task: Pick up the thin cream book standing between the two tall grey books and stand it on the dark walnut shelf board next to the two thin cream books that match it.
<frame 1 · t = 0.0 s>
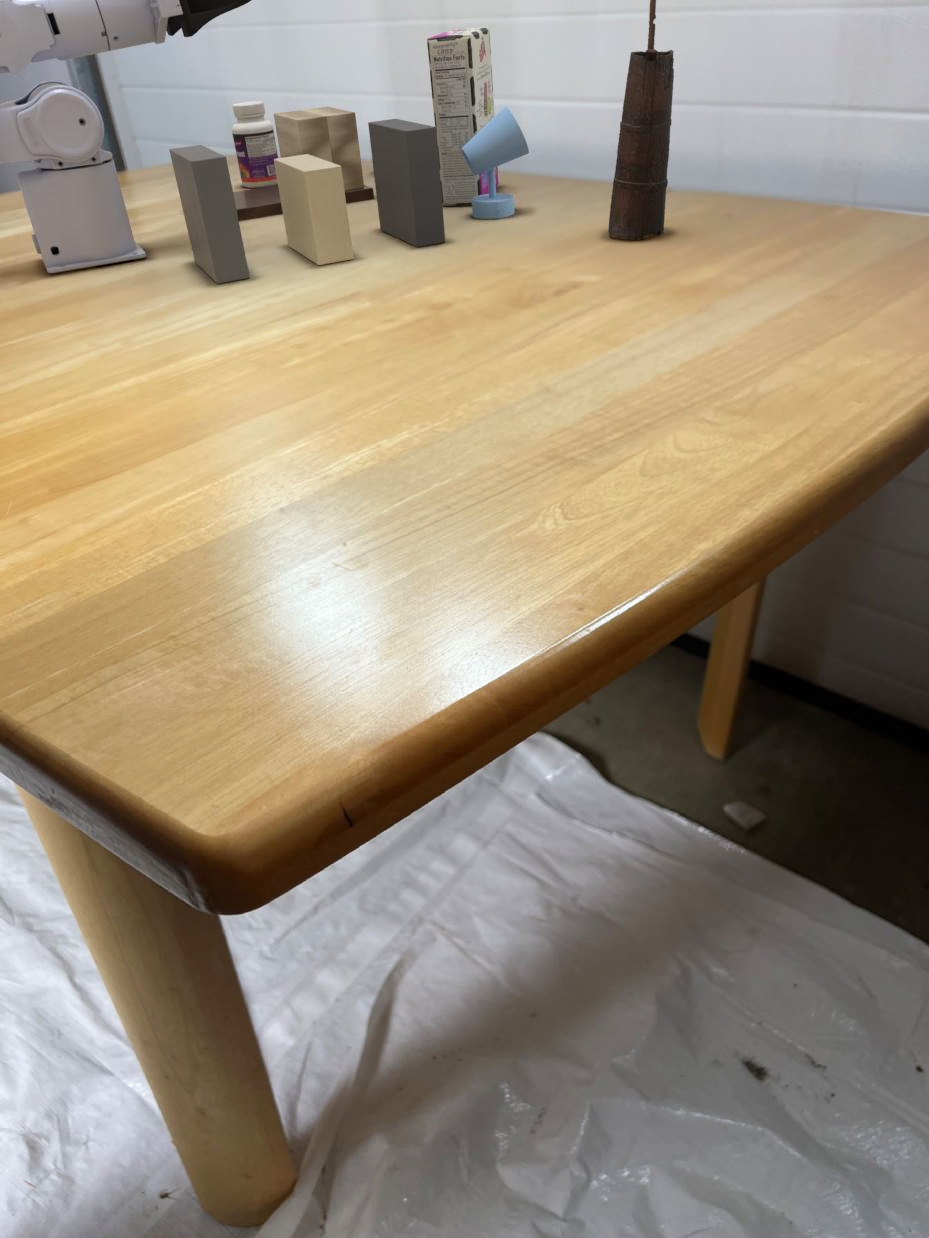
candy bar box: (470, 198, 108), on the table
spotlight: (497, 215, 99), on the table
cream book: (319, 252, 90), on the table
shelf board: (280, 204, 113), on the table
pill bottle: (262, 186, 126), on the table
grey books: (319, 252, 90), on the table
butter churn: (637, 239, 86), on the table
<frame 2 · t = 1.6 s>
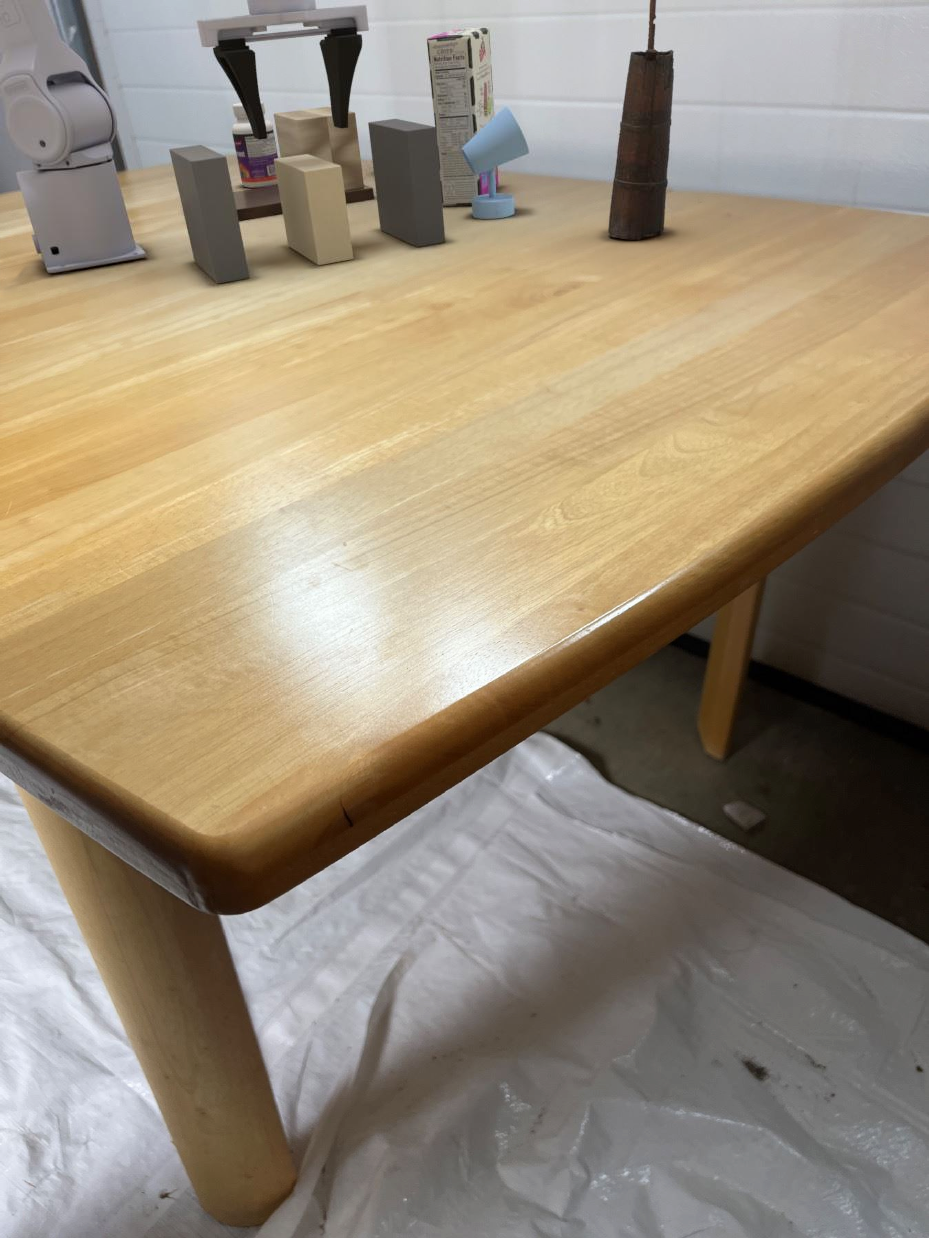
hand: (301, 133, 84), 10 cm above the table, tool pointing down, fingers open, 7 cm apart
nothing on the table moved.
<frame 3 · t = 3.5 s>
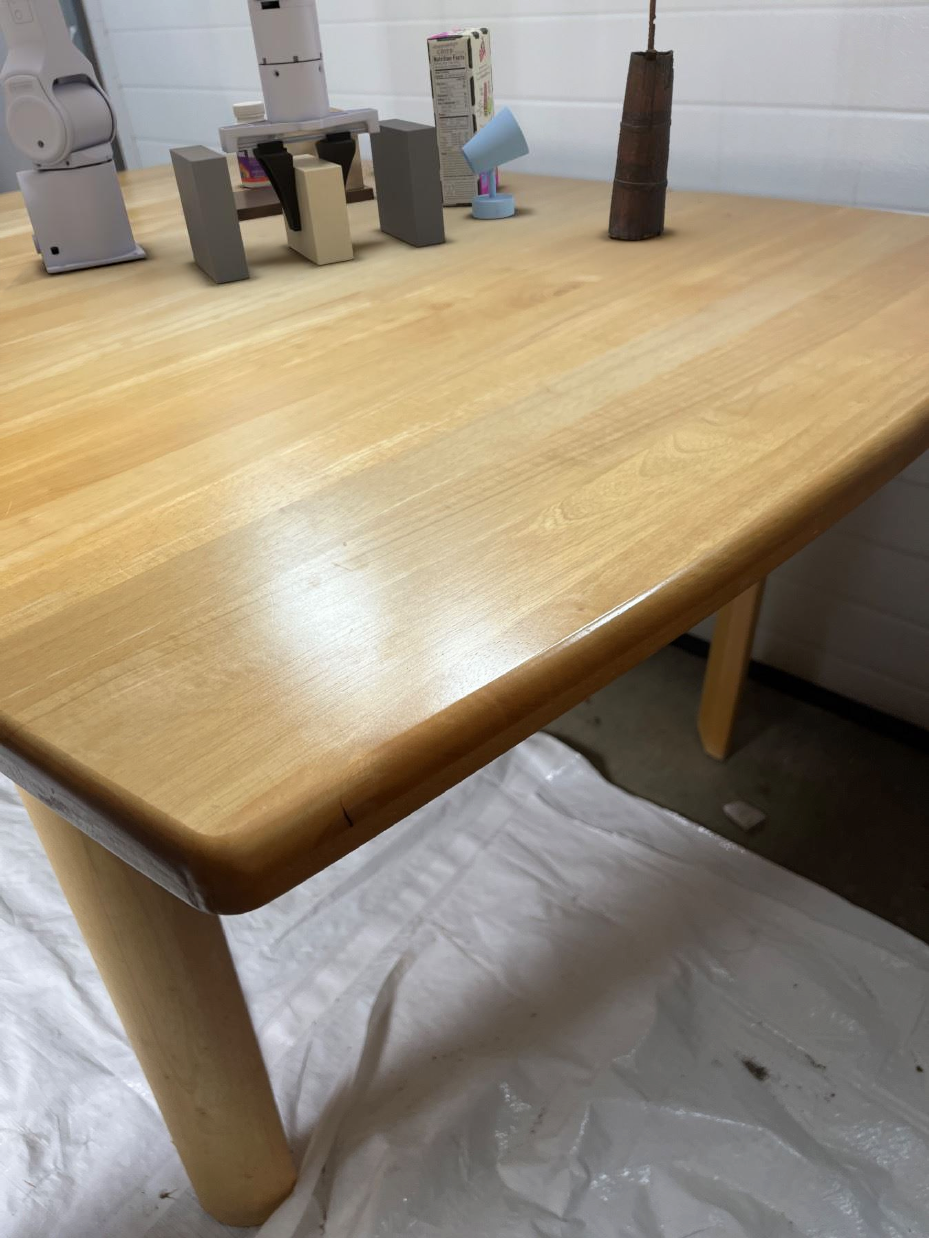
hand: (315, 226, 89), 2 cm above the table, tool pointing down, fingers closed on cream book, 3 cm apart
cream book: (319, 252, 90), on the table, touching gripper
everything else where it was.
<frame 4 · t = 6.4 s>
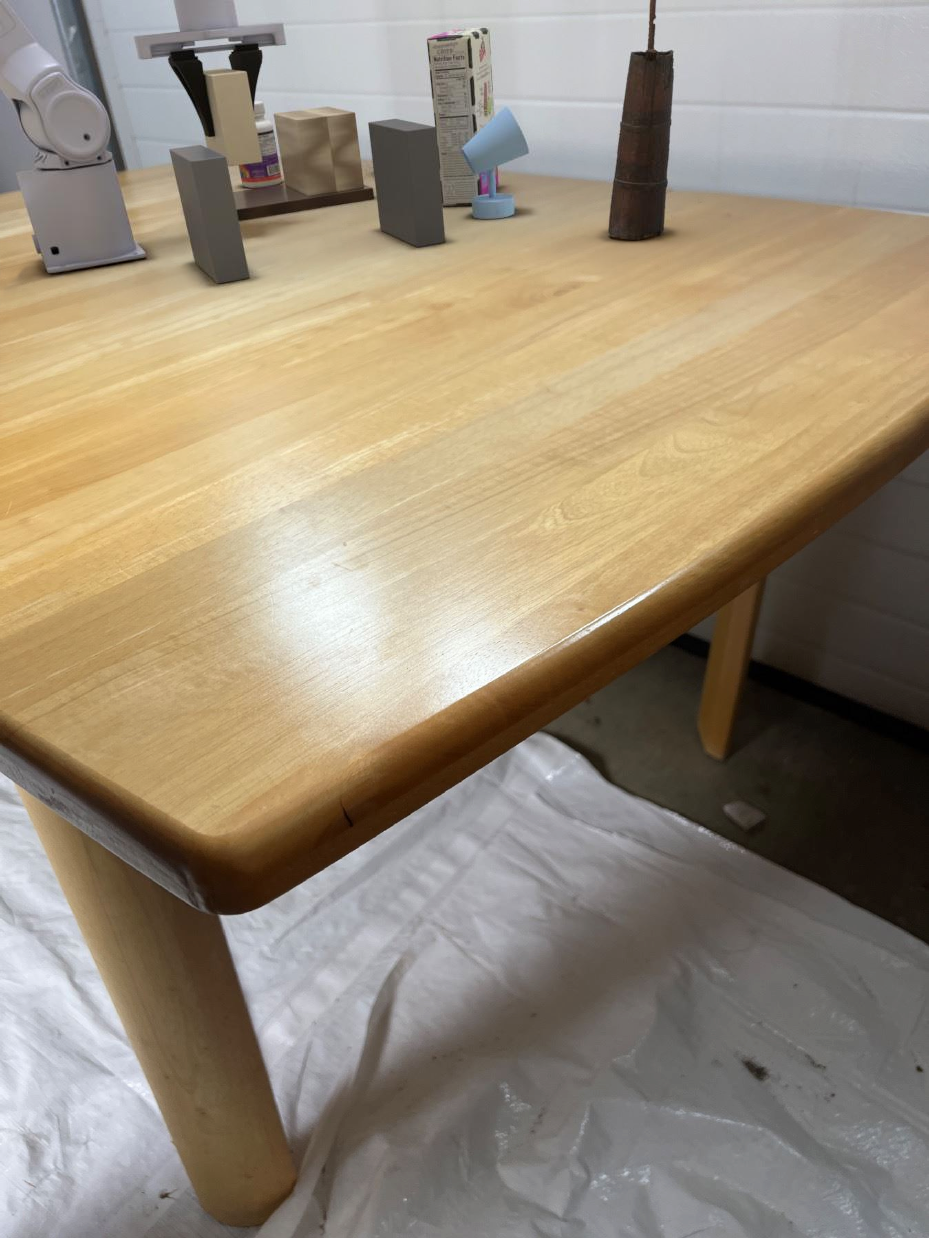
hand: (229, 133, 96), 9 cm above the table, tool pointing down, fingers closed on cream book, 3 cm apart
cream book: (234, 159, 98), point 7 cm above the table, touching gripper
everything else where it was.
when the fingers open (4 cm above the table, at t = 9.5 s): cream book stays where it is, resting on shelf board.
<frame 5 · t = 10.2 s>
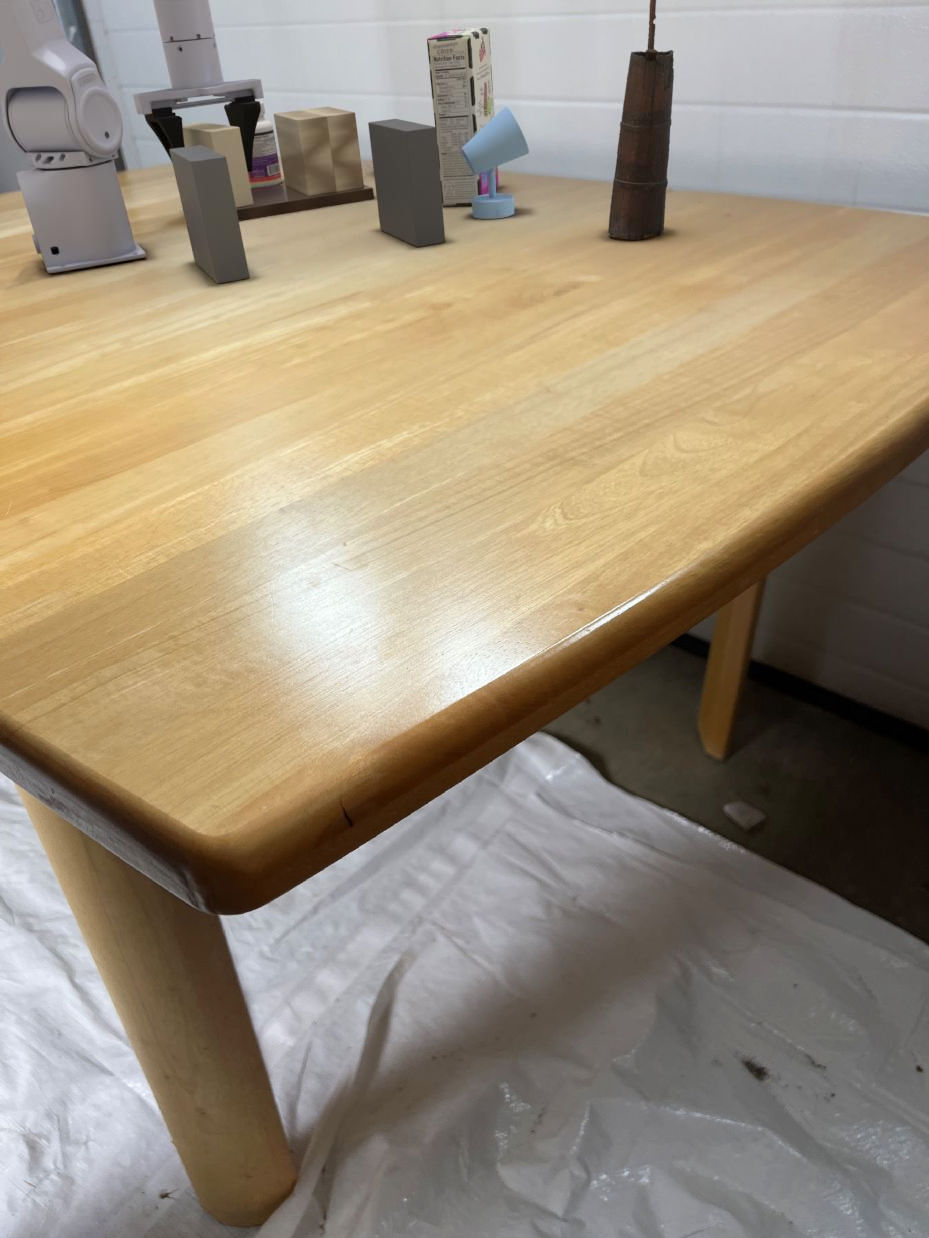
hand: (216, 176, 108), 4 cm above the table, tool pointing down, fingers open, 7 cm apart
cream book: (222, 202, 110), point 1 cm above the table, touching shelf board
everything else where it was.
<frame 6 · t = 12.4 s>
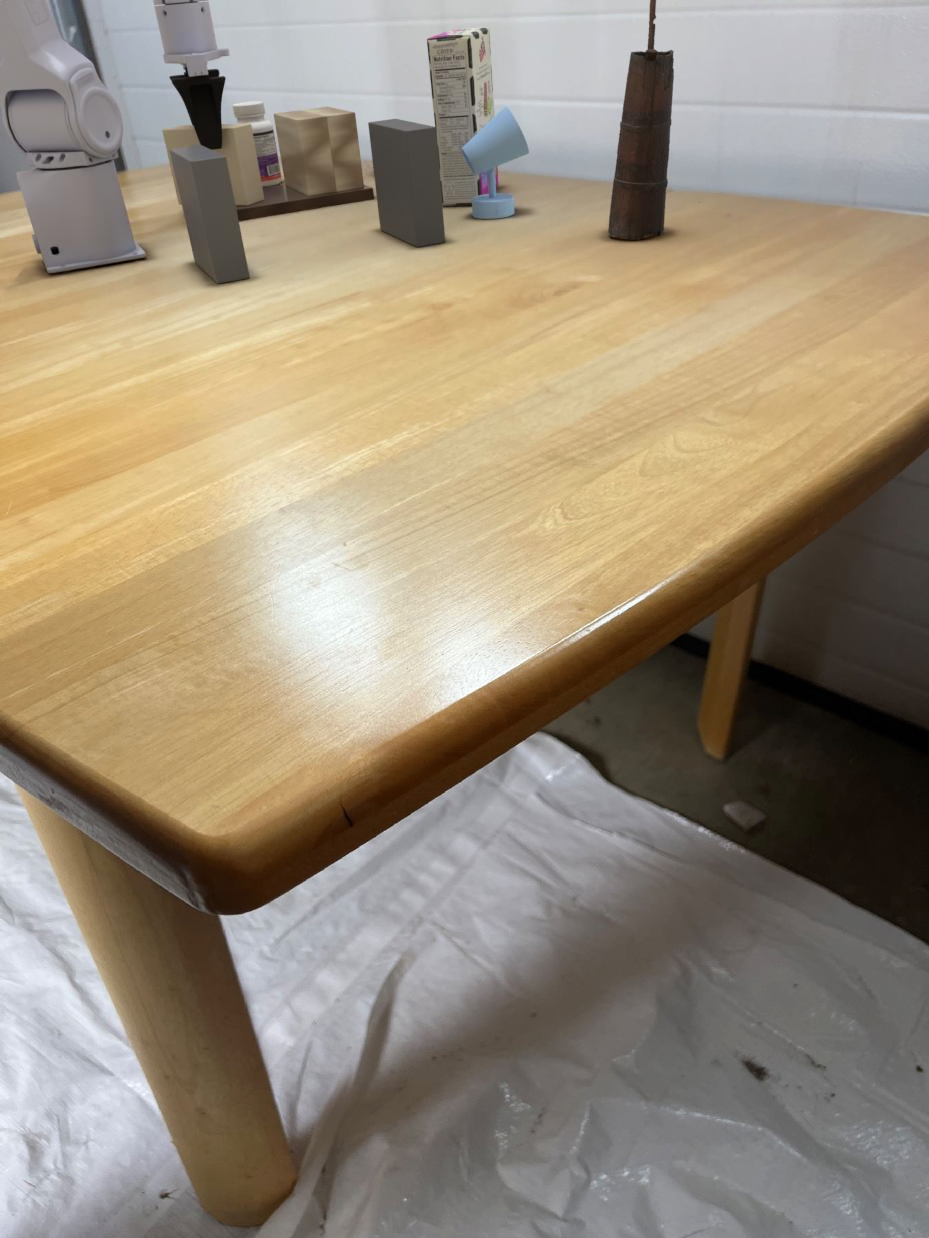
hand: (210, 145, 106), 7 cm above the table, tool pointing down
cream book: (221, 202, 110), point 1 cm above the table, touching gripper
everything else where it was.
when the fingers open (9 cm above the table, at t = 13.7 s): cream book stays where it is, resting on shelf board.
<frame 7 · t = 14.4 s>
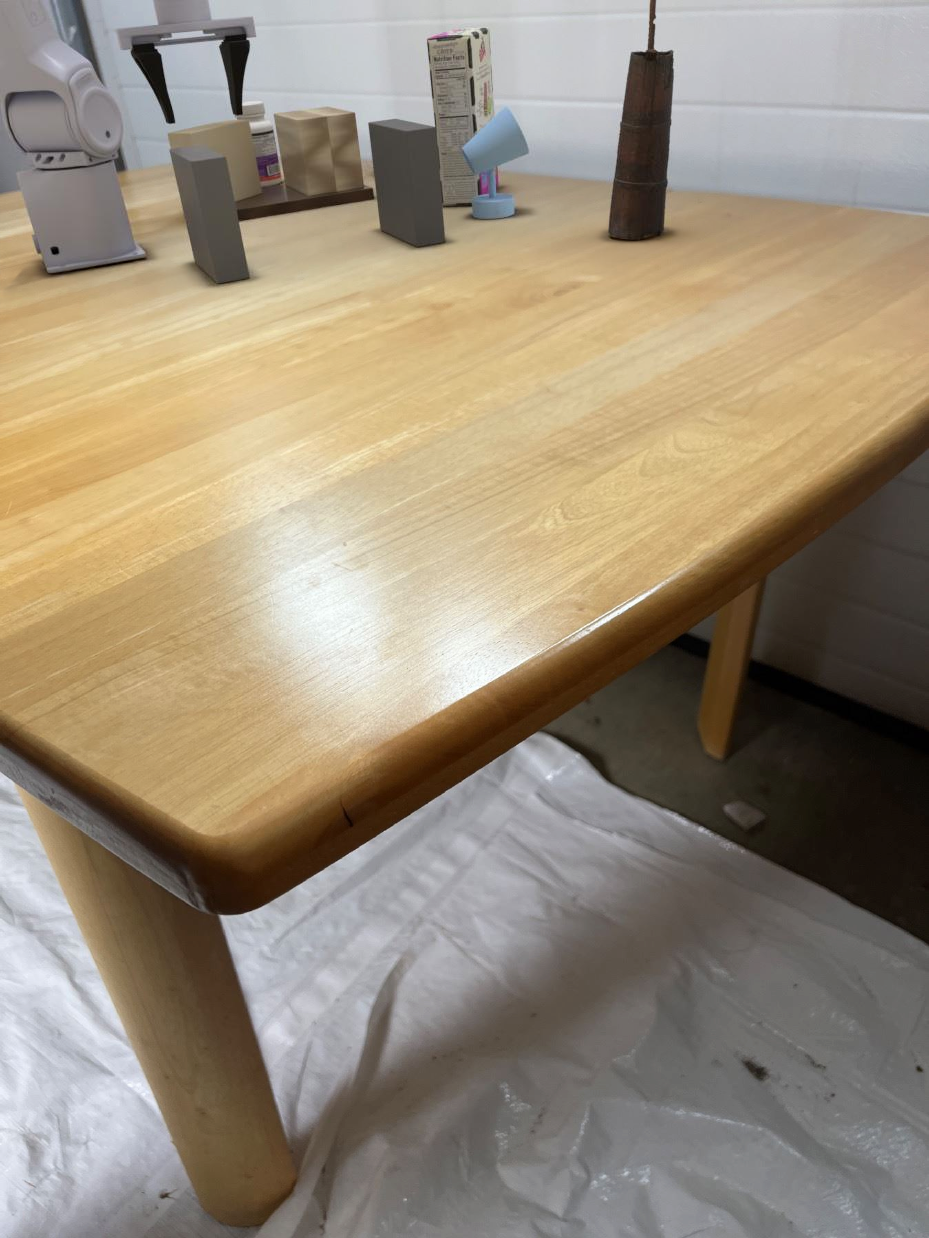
hand: (204, 119, 105), 10 cm above the table, tool pointing down, fingers open, 7 cm apart
cream book: (224, 201, 110), point 1 cm above the table, touching shelf board
everything else where it was.
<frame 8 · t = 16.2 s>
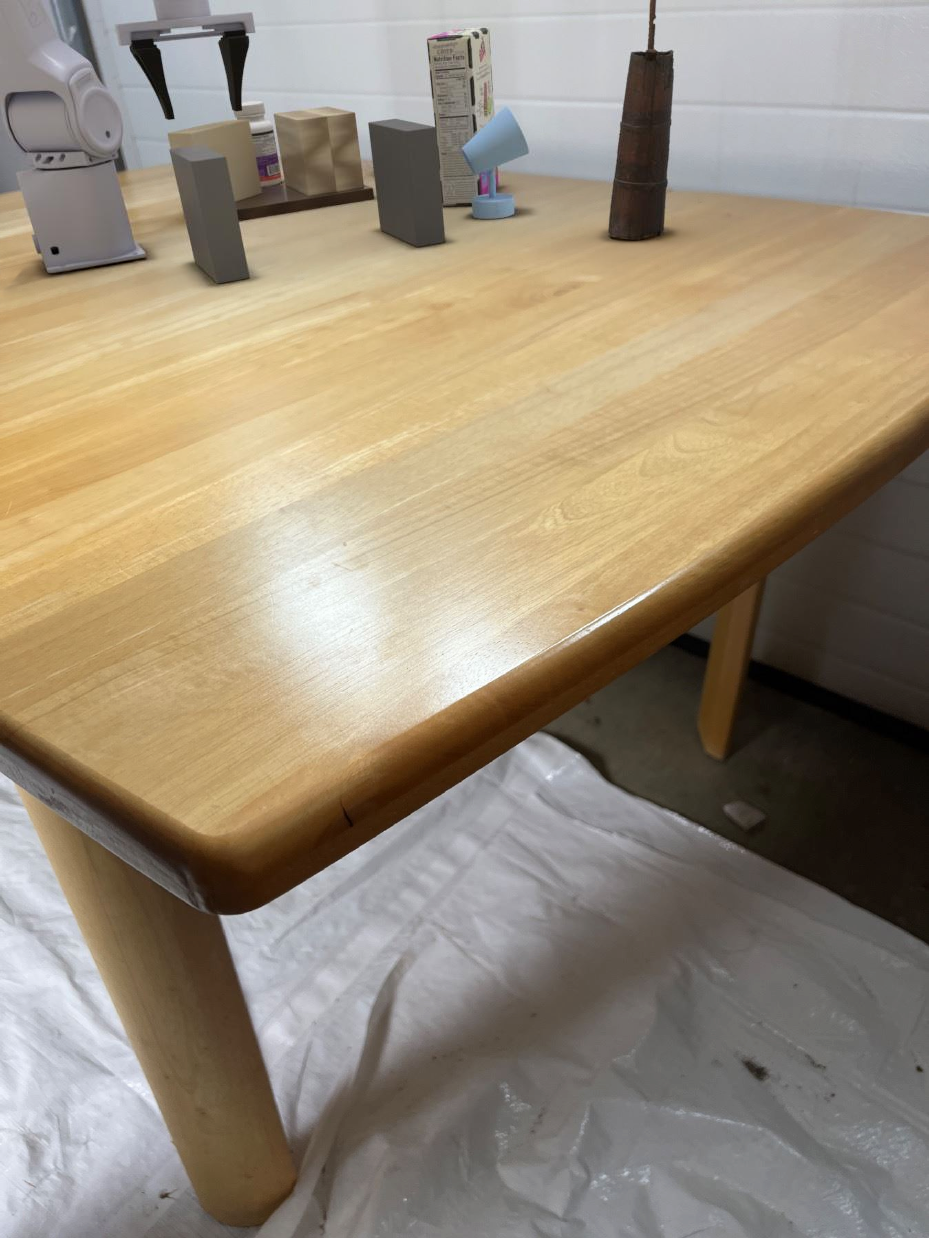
hand: (204, 115, 105), 10 cm above the table, tool pointing down, fingers open, 7 cm apart
nothing on the table moved.
at the end: cream book 0.4 cm from the target spot on the shelf board, point 1.2 cm above the shelf board's base; cream book tilted 0°; the gripper is holding nothing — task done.
